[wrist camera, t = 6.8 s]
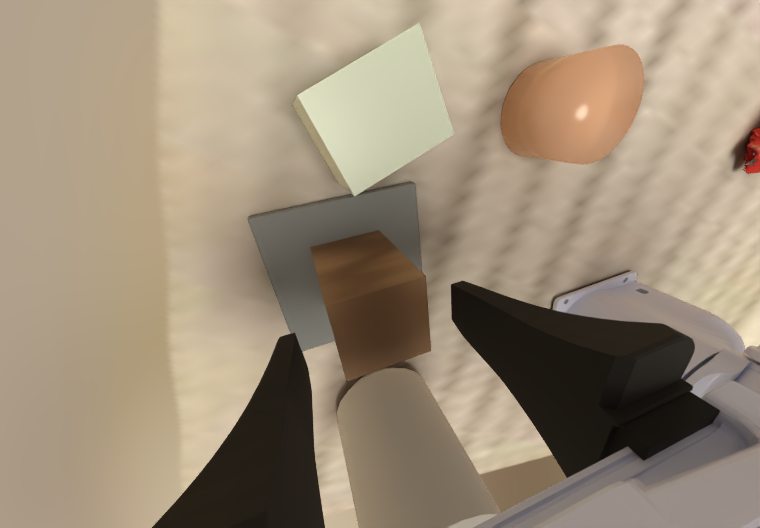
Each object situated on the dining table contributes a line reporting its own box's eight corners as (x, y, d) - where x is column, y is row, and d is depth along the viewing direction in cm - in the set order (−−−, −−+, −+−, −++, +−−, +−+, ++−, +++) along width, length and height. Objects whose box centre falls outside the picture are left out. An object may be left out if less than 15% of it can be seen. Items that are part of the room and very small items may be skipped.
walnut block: (378, 230, 16) (425, 276, 11) (387, 287, 18) (431, 350, 13) (309, 247, 15) (325, 306, 10) (326, 306, 17) (346, 381, 12)
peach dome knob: (576, 52, 16) (656, 33, 12) (565, 144, 18) (629, 150, 15) (501, 72, 15) (565, 58, 12) (500, 165, 18) (552, 176, 14)
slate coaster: (411, 181, 16) (415, 183, 16) (421, 306, 20) (425, 310, 20) (248, 216, 14) (247, 219, 14) (297, 346, 18) (297, 352, 18)
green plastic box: (382, 51, 13) (419, 22, 10) (414, 133, 15) (454, 134, 12) (292, 105, 13) (296, 95, 9) (337, 181, 15) (354, 196, 11)
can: (315, 398, 21) (351, 663, 10) (399, 343, 21) (515, 545, 11) (362, 440, 25) (423, 663, 14) (433, 392, 25) (542, 576, 15)
